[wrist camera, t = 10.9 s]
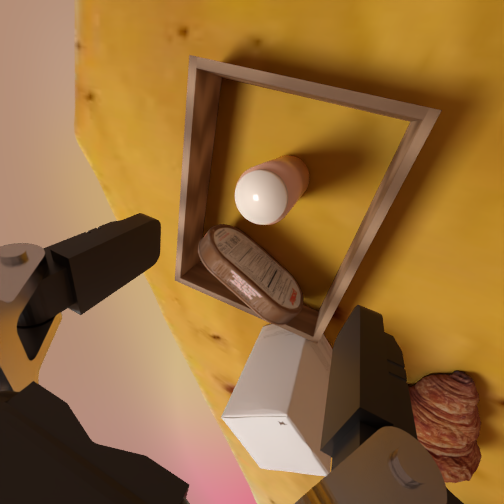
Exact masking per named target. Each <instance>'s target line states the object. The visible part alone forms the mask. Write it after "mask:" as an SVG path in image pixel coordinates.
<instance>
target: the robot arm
mask: <svg viewBox="0 0 504 504" xmlns="http://www.w3.org/2000/svg"><path fill="white" fill-rule="evenodd" d="M160 238H161V224H160V222H159V221H158V220H156V219H154V218H152V217H149V216H147V215H145V214H142V213H139V214H136V215H134V216H131V217H129V218H126V219H124V220H120V221H114V222H110V223H107V224H105V225H102V226H100V227H98V229H97V228H95V229H92V230H90V231H88V232H87V233H86V232H84V233H82V234H79V235H77V236H74V237H72V238H69V239H67V240H64V241H61V242H59V243H56V244H54V245H51V246H49V247H46V248H44V249H43V248H42V247H40V246H38V245H34V244H28V243H18V244H9V245H4V246H1V247H0V504H190V503H189V502H188V501H187V499H186V496H187V492H188V488H189V484H187V483H186V482H184V481H183V480H181V479H180V478H178V477H177V476H175V475H174V474H172V473H171V472H169V471H168V470H166V469H165V468H163V467H162V466H160V465H159V464H157V463H156V462H154V461H153V460H151V459H150V458H148V457H147V456H144V455H140V454H136V453H132V452H128V451H124V450H119V449H115V448H111V447H107V446H103V445H99V444H96V443H94V442H92V440H91V439H90V438H89V436H88V435H87V433H86V432H85V430H84V429H83V427H82V426H81V424H80V422H79V421H78V419H77V418H76V416H75V415H74V413H73V412H72V410H71V409H70V407H69V405H68V404H67V403H66V402H64V401H63V400H61V399H60V398H58V397H57V396H55V395H54V394H52V393H51V392H49V391H48V390H46V389H45V388H43V387H42V386H40V385H39V384H38V376H39V370H40V367H41V364H42V362H43V360H44V358H45V356H46V353H47V351H48V349H49V347H50V344H51V342H52V340H53V337H54V335H55V333H56V331H57V328H58V326H59V324H60V322H61V319H62V313H61V312H62V311H64V310H65V309H67V308H69V309H71V310H73V311H75V312H76V313H78V314H80V315H82V314H83V313H85V312H86V311H87V310H89V309H90V308H92V307H93V306H95V305H96V304H98V303H99V302H100V301H102V300H103V299H105V298H106V297H108V296H109V295H111V294H112V293H114V292H115V291H117V290H118V289H120V288H121V287H123V286H124V285H126V284H127V283H128V282H130V281H131V280H133V279H134V278H136V277H137V276H139V275H140V274H142V273H143V272H145V271H146V270H147V269H149V268H150V267H152V266H153V265H154V264H155V263H156V262H157V260H158V258H159V255H160ZM404 367H405V366H404V360H403V354H402V351H401V349H400V347H399V346H398V344H397V342H396V340H395V339H394V337H393V336H392V335H389V334H387V333H385V332H384V326H383V318H382V315H381V314H379V313H377V312H375V311H372V310H370V309H367V308H365V307H363V306H360V305H357V306H356V307H355V308H354V310H353V311H352V313H351V315H350V316H349V318H348V319H347V321H346V323H345V324H344V326H343V327H342V329H341V331H340V332H339V334H338V336H337V338H336V340H335V343H334V347H333V351H332V359H331V367H330V375H329V383H328V391H327V399H326V407H325V415H324V423H323V430H322V438H321V446H320V451H322V452H323V453H325V454H327V455H329V456H331V457H332V469H331V472H330V473H329V474H328V475H327V476H326V477H324V478H323V479H322V480H321V481H320V482H319V483H318V484H316V485H315V486H314V487H313V488H312V489H310V490H309V491H308V492H307V493H306V494H305V495H304V496H302V497H301V498H300V499H299V500H298V501H297V502H296V503H295V504H464V503H462V502H461V501H460V500H459V499H458V498H457V497H455V496H454V495H453V494H452V493H451V492H450V491H449V490H448V489H447V488H446V486H445V482H444V479H443V476H442V474H441V472H440V470H439V468H438V466H437V464H436V462H435V461H434V459H433V458H432V456H431V455H430V454H429V452H428V451H427V450H426V449H425V447H424V446H423V445H422V444H421V443H420V442H419V441H418V438H417V433H416V427H415V422H414V416H413V410H412V405H411V399H410V394H409V388H408V383H406V381H407V377H406V371H405V370H404Z"/></svg>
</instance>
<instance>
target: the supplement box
mask: <svg viewBox="0 0 504 504" xmlns="http://www.w3.org/2000/svg"><path fill="white" fill-rule="evenodd" d="M332 351H333V349H332V348H331V346H330V344H329V343H328V341H327V339H326V338H325V336H324V334H322V336H321V338H320V340H319V342H318V344H317V343H314V342H312V341H310V340H308V339H305V338H303V337H301V336H299V335H296V334H294V333H292V332H290V331H287V330H285V329H283V328H281V327H278V326H276V325H274V324H270V325H266V326H263V328H262V330H261V332H260V334H259V336H258V339H257V341H256V343H255V345H254V347H253V349H252V352H251V354H250V356H249V358H248V360H247V363H246V365H245V367H244V369H243V371H242V373H241V376H240V378H239V380H238V382H237V384H236V386H235V388H234V390H233V393H232V395H231V397H230V399H229V401H228V403H227V406H226V408H225V410H224V412H223V414H222V416H221V418H222V419H223V420H224V421H225V423H226V424H227V425H228V427H229V428H230V429H231V430H232V432H233V433H234V434H235V436H236V437H237V438H238V439H239V441H240V442H241V443H242V445H243V446H244V447H245V448H246V450H247V451H248V452H249V454H250V455H251V456H252V458H253V459H254V460H255V461H256V463H257V464H258V466H259V467H260V468H262V469H268V470H277V471H288V472H296V473H303V474H310V475H318V476H327V475H328V474H329V473H330V462H331V456H329V455H327V454H325V453H323V452H322V451H320V446H321V438H322V430H323V423H324V415H325V407H326V399H327V391H328V383H329V375H330V367H331V359H332Z"/></svg>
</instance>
